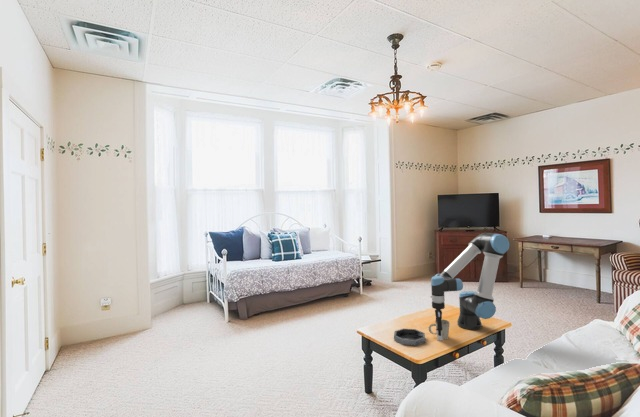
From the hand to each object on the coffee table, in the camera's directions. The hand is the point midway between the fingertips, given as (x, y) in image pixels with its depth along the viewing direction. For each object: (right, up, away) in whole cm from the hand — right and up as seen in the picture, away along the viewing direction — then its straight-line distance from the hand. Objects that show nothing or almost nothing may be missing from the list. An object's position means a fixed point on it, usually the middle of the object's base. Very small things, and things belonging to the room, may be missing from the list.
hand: (439, 337), depth 209 cm
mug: (0, 0, 0) cm, 0 cm away
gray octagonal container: (-19, -1, -1) cm, 19 cm away
